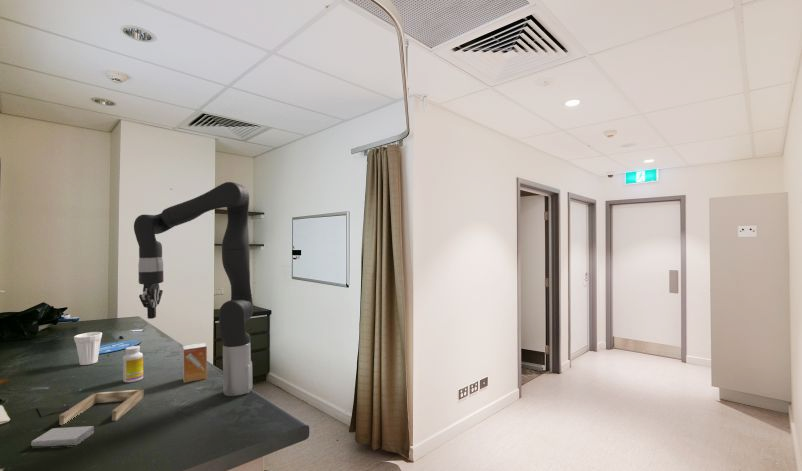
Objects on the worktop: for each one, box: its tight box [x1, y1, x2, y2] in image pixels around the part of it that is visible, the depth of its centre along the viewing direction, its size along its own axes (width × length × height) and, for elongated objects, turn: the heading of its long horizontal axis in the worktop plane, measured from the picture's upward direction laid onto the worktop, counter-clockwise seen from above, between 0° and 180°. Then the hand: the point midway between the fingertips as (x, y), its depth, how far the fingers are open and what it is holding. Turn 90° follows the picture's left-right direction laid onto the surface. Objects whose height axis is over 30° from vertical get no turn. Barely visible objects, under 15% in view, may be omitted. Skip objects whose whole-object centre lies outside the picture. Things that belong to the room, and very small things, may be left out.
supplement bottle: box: [122, 345, 144, 383], centre depth 152 cm, size 7×7×13 cm
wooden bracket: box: [58, 388, 145, 426], centre depth 125 cm, size 15×17×3 cm
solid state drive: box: [57, 403, 71, 413], centre depth 127 cm, size 7×10×1 cm
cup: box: [73, 331, 103, 366], centre depth 174 cm, size 10×10×13 cm
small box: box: [182, 342, 208, 384], centre depth 152 cm, size 8×6×13 cm
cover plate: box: [30, 425, 95, 446], centre depth 107 cm, size 11×7×2 cm, turn 95°
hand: (151, 318), depth 139 cm, fingers closed
